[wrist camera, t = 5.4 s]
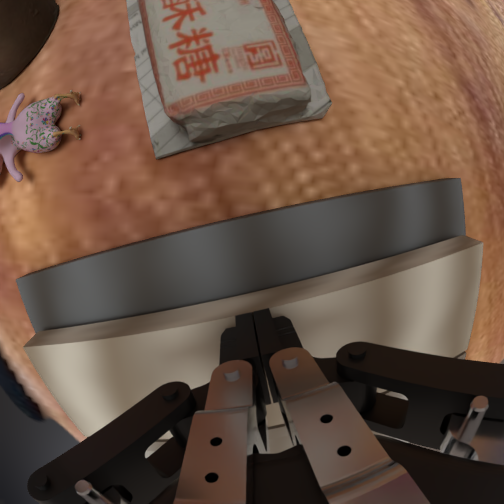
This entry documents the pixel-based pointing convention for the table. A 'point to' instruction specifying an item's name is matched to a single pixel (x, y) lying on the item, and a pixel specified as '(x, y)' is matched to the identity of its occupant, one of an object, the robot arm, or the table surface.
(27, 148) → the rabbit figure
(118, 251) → the floor section
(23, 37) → the pillar candle
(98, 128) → the table surface
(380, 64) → the table surface
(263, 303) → the loose plank
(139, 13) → the packaged product
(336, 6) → the table surface
